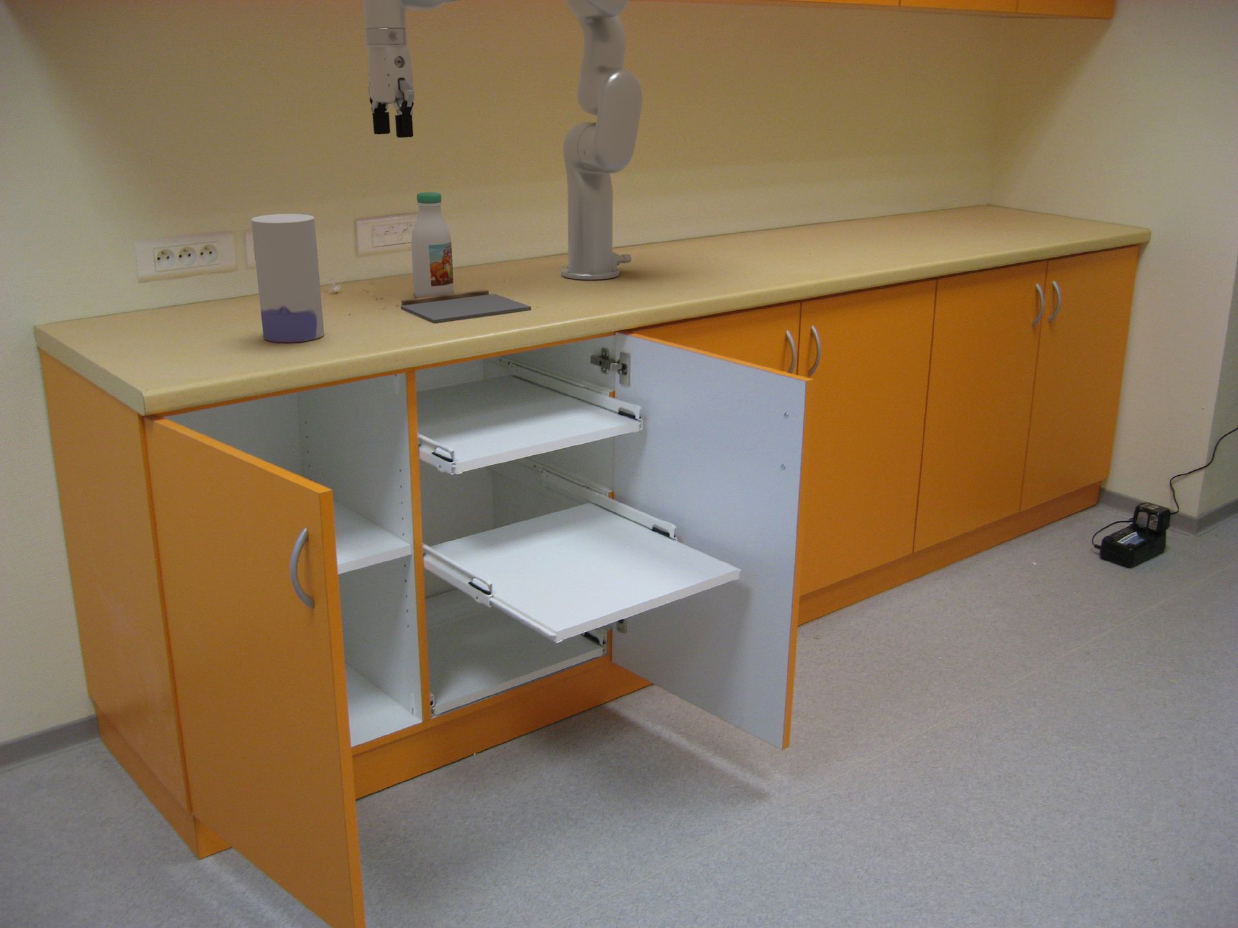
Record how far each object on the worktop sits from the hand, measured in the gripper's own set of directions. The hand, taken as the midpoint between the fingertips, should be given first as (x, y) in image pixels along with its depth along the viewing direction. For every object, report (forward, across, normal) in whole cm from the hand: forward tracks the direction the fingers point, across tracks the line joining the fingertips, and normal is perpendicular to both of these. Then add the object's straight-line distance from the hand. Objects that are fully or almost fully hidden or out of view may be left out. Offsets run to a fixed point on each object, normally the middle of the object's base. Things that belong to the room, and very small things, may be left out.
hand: (393, 135), depth 217 cm
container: (+30, -20, +30) cm, 48 cm away
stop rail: (+31, -10, -4) cm, 32 cm away
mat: (+31, -19, -4) cm, 36 cm away
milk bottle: (+31, -5, -4) cm, 31 cm away
